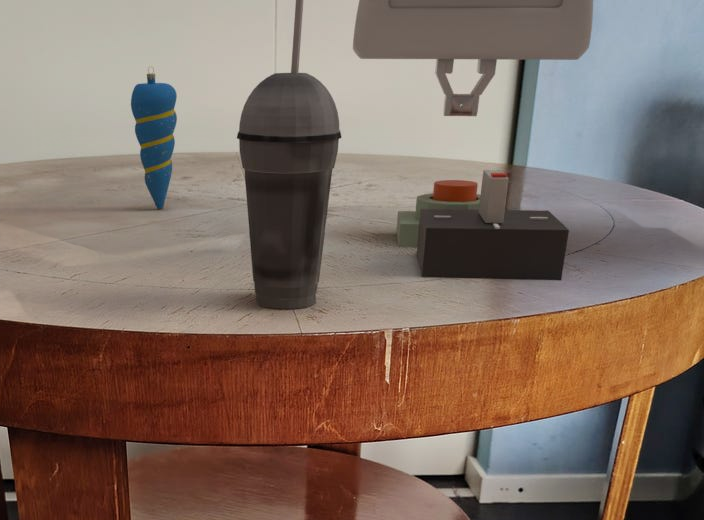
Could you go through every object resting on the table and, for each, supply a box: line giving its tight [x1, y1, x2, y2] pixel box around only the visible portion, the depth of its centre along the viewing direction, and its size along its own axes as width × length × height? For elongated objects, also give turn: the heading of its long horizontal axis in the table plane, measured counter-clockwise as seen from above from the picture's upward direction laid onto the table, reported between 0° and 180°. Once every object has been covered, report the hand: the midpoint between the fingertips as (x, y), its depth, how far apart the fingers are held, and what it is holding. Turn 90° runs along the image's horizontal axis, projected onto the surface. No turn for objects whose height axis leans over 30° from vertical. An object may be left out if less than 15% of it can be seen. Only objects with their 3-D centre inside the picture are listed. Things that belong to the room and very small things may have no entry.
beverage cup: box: [236, 0, 342, 310], centre depth 63 cm, size 7×7×20 cm
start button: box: [432, 179, 479, 202], centre depth 85 cm, size 4×4×2 cm
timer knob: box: [479, 169, 510, 223], centre depth 74 cm, size 5×1×4 cm, turn 172°
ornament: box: [130, 66, 178, 210], centre depth 102 cm, size 5×5×15 cm
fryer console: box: [416, 209, 570, 281], centre depth 76 cm, size 11×9×4 cm
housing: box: [396, 192, 481, 248], centre depth 86 cm, size 10×7×4 cm
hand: (459, 115), depth 82 cm, fingers closed
